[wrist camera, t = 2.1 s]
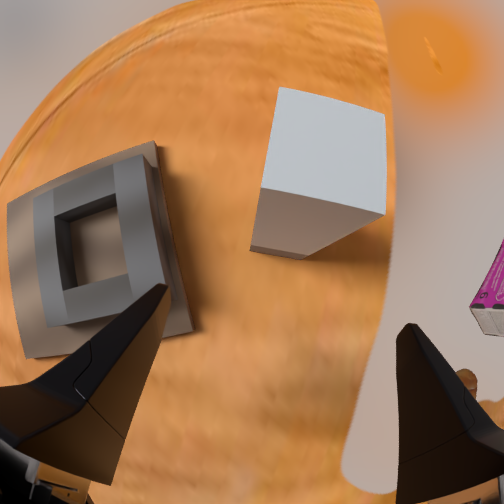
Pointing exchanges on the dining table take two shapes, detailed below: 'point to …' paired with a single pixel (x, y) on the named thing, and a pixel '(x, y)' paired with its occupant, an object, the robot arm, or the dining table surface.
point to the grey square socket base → (92, 251)
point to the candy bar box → (491, 299)
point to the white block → (319, 174)
